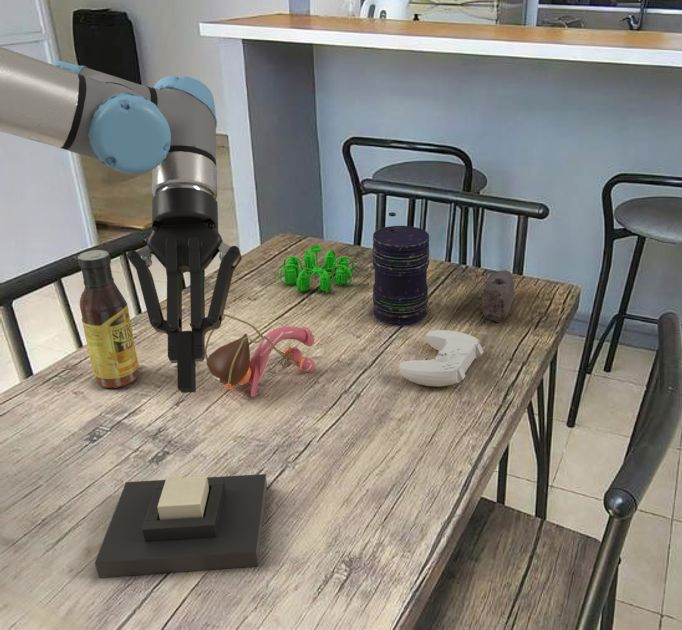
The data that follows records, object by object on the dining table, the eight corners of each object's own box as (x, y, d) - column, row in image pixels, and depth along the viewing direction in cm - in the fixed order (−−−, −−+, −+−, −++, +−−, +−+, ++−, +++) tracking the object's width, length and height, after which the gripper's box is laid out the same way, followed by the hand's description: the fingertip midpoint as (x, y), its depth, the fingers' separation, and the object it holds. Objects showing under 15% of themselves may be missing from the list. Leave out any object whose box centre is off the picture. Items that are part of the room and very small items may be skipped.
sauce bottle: (131, 391, 99) (104, 265, 90) (88, 390, 99) (57, 264, 90) (147, 367, 105) (124, 247, 96) (107, 366, 105) (80, 246, 96)
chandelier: (334, 303, 126) (332, 268, 123) (264, 288, 130) (261, 255, 127) (368, 272, 138) (367, 240, 135) (303, 260, 143) (301, 229, 140)
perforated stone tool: (492, 290, 132) (494, 257, 129) (519, 294, 131) (522, 261, 128) (475, 325, 119) (478, 290, 116) (505, 330, 118) (509, 294, 115)
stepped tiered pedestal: (98, 578, 70) (90, 549, 68) (129, 496, 80) (122, 469, 78) (258, 566, 71) (254, 538, 70) (267, 487, 82) (264, 461, 80)
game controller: (429, 323, 113) (486, 324, 109) (433, 347, 115) (489, 349, 110) (391, 365, 101) (453, 368, 97) (397, 390, 103) (458, 395, 99)
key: (160, 521, 72) (157, 506, 71) (168, 492, 76) (166, 478, 75) (202, 518, 72) (200, 504, 72) (209, 489, 76) (207, 475, 75)
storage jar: (438, 317, 122) (442, 222, 113) (391, 331, 117) (392, 233, 108) (407, 296, 129) (409, 205, 121) (362, 309, 124) (361, 214, 116)
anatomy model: (341, 353, 104) (277, 306, 93) (286, 426, 102) (214, 387, 91) (307, 327, 111) (243, 280, 100) (255, 395, 109) (184, 355, 98)
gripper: (243, 210, 87) (250, 391, 81) (136, 214, 85) (134, 400, 78) (236, 182, 80) (243, 378, 73) (119, 186, 78) (115, 388, 71)
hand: (186, 389), depth 76 cm, fingers closed
